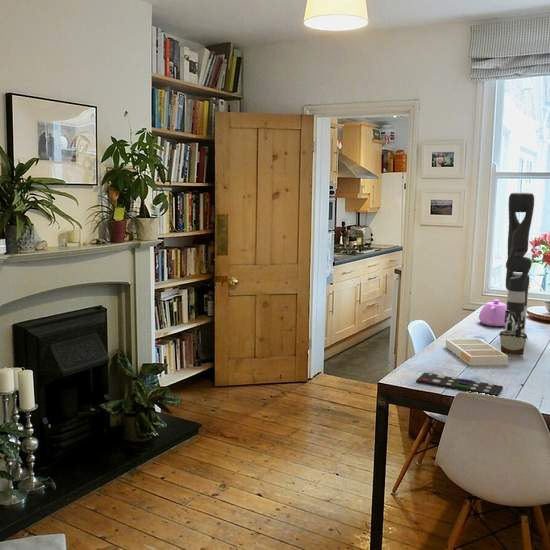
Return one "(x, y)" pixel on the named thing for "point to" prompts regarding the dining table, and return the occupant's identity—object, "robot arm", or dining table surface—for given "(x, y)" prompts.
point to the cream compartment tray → (476, 352)
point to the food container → (512, 343)
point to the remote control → (459, 384)
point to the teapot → (493, 313)
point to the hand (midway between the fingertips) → (513, 335)
